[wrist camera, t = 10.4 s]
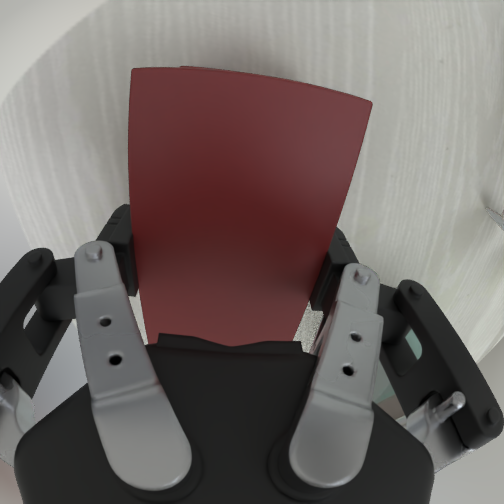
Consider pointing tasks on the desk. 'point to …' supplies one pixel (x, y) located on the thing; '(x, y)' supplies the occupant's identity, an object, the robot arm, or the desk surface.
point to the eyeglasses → (496, 217)
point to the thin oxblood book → (235, 197)
